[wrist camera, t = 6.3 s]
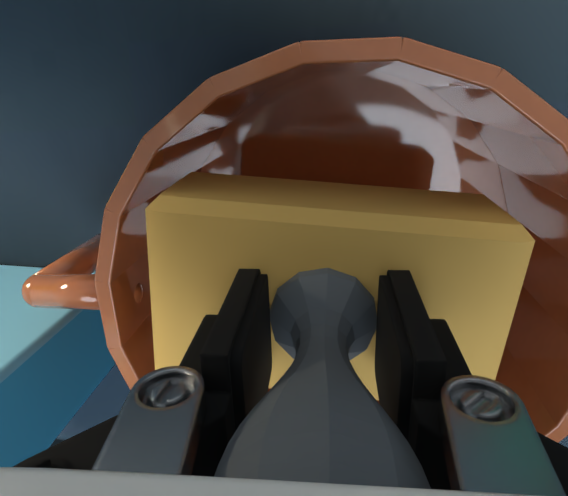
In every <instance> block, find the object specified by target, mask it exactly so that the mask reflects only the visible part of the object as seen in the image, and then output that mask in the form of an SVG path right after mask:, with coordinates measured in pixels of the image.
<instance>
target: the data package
mask: <svg viewBox="0 0 568 496" xmlns="http://www.w3.org/2000/svg"><path fill="white" fill-rule="evenodd" d="M41 269H43V268H39V267H24V266H9V265H0V467H13V466H15V465H17V464H18V463H20V462H22V461H24V460H25V459H28V458H30V457H32V456H34V455H36V454H38V453H40V452H42V451H44V450H46V449H48V448H49V446H50V445H51V444H52V442H53V441H54V440H55V439H56V438H57V436H58V435H59V434H60V433H61V431H62V430H63V429H64V428H65V426H66V425H67V424H68V423H69V421H70V420H71V419H72V418H73V416H74V415H75V414H76V413H77V411H78V410H79V409H80V407H81V406H82V405H83V404H84V402H85V401H86V400H87V399H88V397H89V396H90V395H91V394H92V392H93V391H94V390H95V389H96V387H97V386H98V385H99V384H100V382H101V381H102V380H103V379H104V377H105V376H106V375H107V374H108V372H109V371H110V370H111V369H112V367H113V366H114V365H115V361H114V359H113V358H112V356H111V354H110V352H109V350H108V349H109V348H107V343H106V338H105V333H104V328H103V323H102V318H101V313H100V310H84V309H52V308H35V307H32V306H30V305H28V304H27V303H26V302H25V301H24V299H23V297H22V293H21V289H22V285H23V283H24V282H25V280H26V279H27V278H29V277H30V276H32V275H33V274H35V273H36V272H38V271H40V270H41ZM95 273H96V272H94V273H93V274H95Z"/></svg>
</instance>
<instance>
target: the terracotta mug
mask: <svg viewBox="0 0 568 496" xmlns="http://www.w3.org/2000/svg"><path fill="white" fill-rule="evenodd" d="M190 172H203V173H216V174H229V175H242V176H255V177H268V178H281V179H293V180H306V181H319V182H332V183H345V184H358V185H371V186H383V187H396V188H409V189H422V190H435V191H448V192H461V193H474V194H483V195H485V196H486V197H487V198H489V199H490V200H491V201H493V202H494V203H495V204H496V205H498V206H499V207H500V208H502V209H503V210H504V211H506V212H507V213H508V214H509V215H511V216H512V217H513V218H515V219H516V220H517V221H518V222H520V223H521V224H522V225H523V226H524V228H525V229H526V230H527V231H528V232H529V234H530V235H531V236H532V237H533V239H534V240H535V243H534V247H533V250H532V254H531V257H530V261H529V264H528V268H527V271H526V275H525V278H524V281H523V285H522V288H521V292H520V295H519V299H518V302H517V306H516V309H515V313H514V316H513V320H512V323H511V327H510V330H509V334H508V337H507V341H506V344H505V348H504V351H503V355H502V358H501V362H500V365H499V369H498V372H497V376H496V379H495V381H498V382H500V383H502V384H504V385H505V386H507V387H509V388H510V389H511V390H513V391H514V392H515V393H516V394H517V395H518V396H519V397H520V399H521V400H522V401H523V403H524V405H525V407H526V409H527V411H528V413H529V416H530V418H531V420H532V422H533V424H534V426H535V429H536V431H537V432H539V433H540V434H542V435H544V436H546V437H548V438H550V439H552V440H554V441H555V442H557V443H559V442H560V441H561V440H563V439H564V438H565V437H566V436H568V118H566V117H565V116H564V115H562V114H561V113H560V112H559V111H557V110H556V109H555V108H554V107H552V106H551V105H550V104H549V103H547V102H546V101H545V100H543V99H542V98H541V97H540V96H538V95H537V94H536V93H535V92H533V91H532V90H531V89H529V88H528V87H527V86H526V85H524V84H523V83H522V82H521V81H519V80H518V79H517V78H515V77H514V76H513V75H512V74H510V73H509V72H508V71H507V70H505V69H501V67H500V66H497V65H493V64H490V63H487V62H484V61H481V60H477V59H474V58H471V57H468V56H465V55H461V54H458V53H455V52H452V51H449V50H445V49H442V48H439V47H436V46H433V45H429V44H426V43H423V42H420V41H417V40H413V39H410V38H407V37H403V38H402V37H400V36H398V37H375V38H353V39H330V40H307V41H300V43H299V42H295V43H293V44H290V45H288V46H285V47H283V48H280V49H278V50H275V51H273V52H270V53H268V54H265V55H263V56H261V57H258V58H256V59H253V60H251V61H248V62H246V63H243V64H241V65H238V66H236V67H233V68H231V69H228V70H226V71H224V72H221V73H219V74H216V75H214V76H211V77H210V78H209V79H206V80H205V81H204V82H203V83H202V84H201V85H200V86H198V87H197V88H196V89H195V90H194V91H193V92H192V93H191V94H190V95H188V96H187V97H186V98H185V99H184V100H183V101H182V102H181V103H179V104H178V105H177V106H176V107H175V108H174V109H173V110H172V111H171V112H169V113H168V114H167V115H166V116H165V117H164V118H163V119H162V120H161V121H159V122H158V123H157V124H156V125H155V126H154V127H153V128H152V129H150V130H149V131H148V132H147V133H146V134H145V135H144V136H143V138H142V139H141V140H140V142H139V144H138V146H137V148H136V150H135V152H134V153H133V155H132V157H131V159H130V161H129V163H128V165H127V167H126V169H125V170H124V172H123V174H122V176H121V178H120V180H119V182H118V184H117V185H116V187H115V189H114V191H113V193H112V195H111V197H110V199H109V201H108V202H107V204H106V206H105V210H104V216H103V223H102V230H101V233H100V234H98V235H96V236H94V237H93V238H91V239H89V240H88V241H86V242H85V243H83V244H81V245H80V246H78V247H77V248H75V249H73V250H72V251H70V252H69V253H67V254H65V255H64V256H62V257H60V258H59V259H57V260H56V261H54V262H52V263H51V264H49V265H48V266H46V267H44V268H43V269H41V270H40V271H38V272H36V273H35V274H33V275H32V276H30V277H29V278H27V279H26V280H25V282H24V283H23V285H22V289H21V293H22V297H23V299H24V301H25V302H26V303H27V304H28V305H30V306H32V307H35V308H52V309H84V310H100V313H101V318H102V323H103V328H104V333H105V338H106V343H107V348H109V349H108V350H109V352H110V354H111V356H112V358H113V359H114V361H115V363H116V365H117V367H118V369H119V370H120V372H121V374H122V376H123V378H124V380H125V381H126V383H127V385H128V387H129V389H130V390H131V388H132V387H133V386H134V384H135V383H136V382H137V381H138V380H139V379H140V378H142V377H143V376H144V375H146V374H148V373H150V372H152V371H154V370H155V361H154V345H153V329H152V313H151V296H150V280H149V264H148V248H147V232H146V216H145V208H146V207H147V206H148V205H149V204H150V203H151V202H153V201H154V200H155V199H156V198H157V197H158V196H159V195H160V194H161V193H162V192H163V191H165V190H166V189H168V188H169V187H170V186H172V185H173V184H175V183H176V182H178V181H179V180H180V179H182V178H183V177H185V176H186V175H187V174H189V173H190ZM94 272H96V273H95V274H93V273H94ZM269 390H270V388H268V391H269ZM376 401H377V402H378V403H379V400H376Z"/></svg>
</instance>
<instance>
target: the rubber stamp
mask: <svg viewBox="0 0 568 496" xmlns="http://www.w3.org/2000/svg"><path fill="white" fill-rule="evenodd" d="M145 216H146V232H147V248H148V264H149V280H150V296H151V313H152V329H153V345H154V361H155V370H157V369H160V368H163V367H169V366H179V365H180V363H181V361H182V359H183V357H184V355H185V353H186V351H187V349H188V347H189V345H190V343H191V341H192V339H193V338H194V336H195V334H196V332H197V330H198V328H199V326H200V324H201V322H202V320H203V318H204V317H205V315H207V314H214V315H218V313H219V311H220V309H221V306H222V304H223V302H224V300H225V298H226V296H227V293H228V291H229V289H230V287H231V285H232V283H233V280H234V278H235V276H236V274H237V272H238V270H239V269H260V272H261V274H267V275H268V287H269V307H270V327H271V347H272V371H271V377H270V382H269V387H268V388H270V390H269V391H268V392H267V393H266V394H265V396H264V397H263V398H262V399H261V400H260V401H259V402H258V403H257V404H256V405H255V406H254V408H253V409H252V410H251V411H250V412H249V414H248V415H247V416H246V417H245V419H244V420H243V421H242V422H241V424H240V425H239V427H238V428H237V430H236V431H235V433H234V435H233V436H232V438H231V439H230V441H229V442H228V445H227V447H226V449H225V451H224V453H223V456H222V458H221V460H220V462H219V464H218V467H217V469H216V472H215V475H214V477H228V478H245V479H262V480H280V481H297V482H315V483H332V484H350V485H368V486H385V487H403V488H421V489H431V487H430V485H429V482H428V480H427V478H426V475H425V473H424V470H423V468H422V465H421V464H420V462H419V460H418V458H417V457H416V455H415V453H414V451H413V450H412V448H411V446H410V444H409V443H408V441H407V440H406V438H405V437H404V436H403V434H402V433H401V431H400V430H399V428H398V427H397V426H396V424H395V423H394V422H393V420H392V419H391V418H390V417H389V415H388V414H387V413H386V412H385V410H384V409H383V408H382V407H381V405H380V404H379V403H378V402H377V401H376V400H379V397H378V391H377V384H376V378H375V345H376V325H377V306H378V286H379V276H380V275H387V271H388V270H410V272H411V275H412V277H413V279H414V282H415V284H416V287H417V289H418V292H419V294H420V296H421V299H422V301H423V304H424V306H425V309H426V311H427V314H428V316H429V318H430V319H445V320H446V322H447V324H448V326H449V328H450V330H451V332H452V334H453V336H454V338H455V340H456V342H457V345H458V347H459V349H460V351H461V353H462V355H463V357H464V359H465V361H466V364H467V366H468V368H469V370H470V372H471V374H472V375H476V376H481V377H487V378H489V379H492V380H495V379H496V376H497V372H498V369H499V365H500V362H501V358H502V355H503V351H504V348H505V344H506V341H507V337H508V334H509V330H510V327H511V323H512V320H513V316H514V313H515V309H516V306H517V302H518V299H519V295H520V292H521V288H522V285H523V281H524V278H525V275H526V271H527V268H528V264H529V261H530V257H531V254H532V250H533V247H534V243H535V240H534V239H533V237H532V236H531V235H530V234H529V232H528V231H527V230H526V229H525V228H524V226H523V225H522V224H521V223H520V222H518V221H517V220H516V219H515V218H513V217H512V216H511V215H509V214H508V213H507V212H506V211H504V210H503V209H502V208H500V207H499V206H498V205H496V204H495V203H494V202H493V201H491V200H490V199H489V198H487V197H486V196H485V195H483V194H474V193H461V192H448V191H435V190H422V189H409V188H396V187H383V186H371V185H358V184H345V183H332V182H319V181H306V180H293V179H281V178H268V177H255V176H242V175H229V174H216V173H203V172H190V173H189V174H187V175H186V176H185V177H183V178H182V179H180V180H179V181H178V182H176V183H175V184H173V185H172V186H170V187H169V188H168V189H166V190H165V191H163V192H162V193H161V194H160V195H159V196H158V197H157V198H156V199H155V200H154V201H153V202H151V203H150V204H149V205H148V206H147V207H146V208H145Z"/></svg>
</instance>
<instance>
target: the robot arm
mask: <svg viewBox="0 0 568 496" xmlns="http://www.w3.org/2000/svg"><path fill="white" fill-rule="evenodd" d="M271 371H272V347H271V327H270V307H269V287H268V275H267V274H261V272H260V269H239V270H238V272H237V274H236V276H235V278H234V280H233V283H232V285H231V287H230V289H229V291H228V293H227V296H226V298H225V300H224V302H223V304H222V306H221V309H220V311H219V313H218V315H214V314H207V315H205V317H204V318H203V320H202V322H201V324H200V326H199V328H198V330H197V332H196V334H195V336H194V338H193V339H192V341H191V343H190V345H189V347H188V349H187V351H186V353H185V355H184V357H183V359H182V361H181V363H180V365H179V366H169V367H163V368H160V369H157V370H154V371H152V372H150V373H148V374H146V375H144V376H143V377H142V378H140V379H139V380H138V381H137V382H136V383H135V384H134V386H133V387H132V388H131V390H130V392H129V394H128V396H127V398H126V400H125V402H124V404H123V406H122V409H121V411H120V413H119V415H117V416H115V417H113V418H111V419H109V420H106V421H104V422H102V423H100V424H98V425H96V426H94V427H92V428H90V429H88V430H86V431H84V432H82V433H79V434H77V435H75V436H73V437H71V438H69V439H67V440H65V441H63V442H61V443H59V444H57V445H55V446H52V447H50V448H48V449H46V450H44V451H42V452H40V453H38V454H36V455H34V456H32V457H30V458H28V459H25V460H24V461H22V462H20V463H18V464H17V465H15V466H13V467H0V496H568V448H567V447H565V446H563V445H561V444H559V443H557V442H555V441H554V440H552V439H550V438H548V437H546V436H544V435H542V434H540V433H539V432H537V431H536V429H535V426H534V424H533V422H532V420H531V418H530V416H529V413H528V411H527V409H526V407H525V405H524V403H523V401H522V400H521V399H520V397H519V396H518V395H517V394H516V393H515V392H514V391H513V390H511V389H510V388H509V387H507V386H505V385H504V384H502V383H500V382H498V381H495V380H492V379H489V378H487V377H481V376H476V375H472V374H471V372H470V370H469V368H468V366H467V364H466V361H465V359H464V357H463V355H462V353H461V351H460V349H459V347H458V345H457V342H456V340H455V338H454V336H453V334H452V332H451V330H450V328H449V326H448V324H447V322H446V320H445V319H430V318H429V316H428V314H427V311H426V309H425V306H424V304H423V301H422V299H421V296H420V294H419V292H418V289H417V287H416V284H415V282H414V279H413V277H412V275H411V272H410V270H388V271H387V275H380V276H379V286H378V306H377V325H376V345H375V378H376V384H377V391H378V397H379V404H380V405H381V407H382V408H383V409H384V410H385V412H386V413H387V414H388V415H389V417H390V418H391V419H392V420H393V422H394V423H395V424H396V426H397V427H398V428H399V430H400V431H401V433H402V434H403V436H404V437H405V438H406V440H407V441H408V443H409V444H410V446H411V448H412V450H413V451H414V453H415V455H416V457H417V458H418V460H419V462H420V464H421V465H422V468H423V470H424V473H425V475H426V478H427V480H428V482H429V485H430V487H431V489H421V488H403V487H385V486H368V485H350V484H332V483H315V482H297V481H280V480H262V479H245V478H228V477H214V475H215V472H216V469H217V467H218V464H219V462H220V460H221V458H222V456H223V453H224V451H225V449H226V447H227V445H228V442H229V441H230V439H231V438H232V436H233V435H234V433H235V431H236V430H237V428H238V427H239V425H240V424H241V422H242V421H243V420H244V419H245V417H246V416H247V415H248V414H249V412H250V411H251V410H252V409H253V408H254V406H255V405H256V404H257V403H258V402H259V401H260V400H261V399H262V398H263V397H264V396H265V394H266V393H267V392H268V387H269V382H270V377H271Z"/></svg>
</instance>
